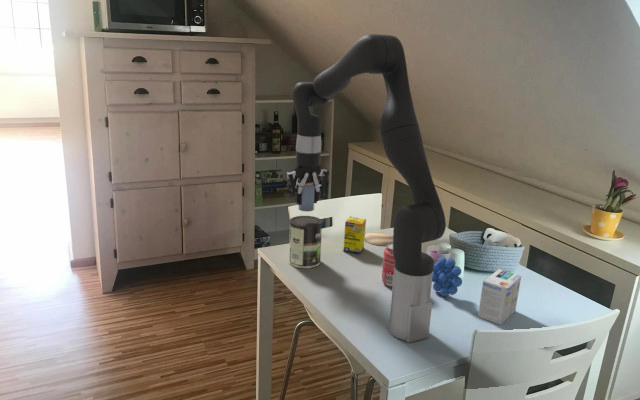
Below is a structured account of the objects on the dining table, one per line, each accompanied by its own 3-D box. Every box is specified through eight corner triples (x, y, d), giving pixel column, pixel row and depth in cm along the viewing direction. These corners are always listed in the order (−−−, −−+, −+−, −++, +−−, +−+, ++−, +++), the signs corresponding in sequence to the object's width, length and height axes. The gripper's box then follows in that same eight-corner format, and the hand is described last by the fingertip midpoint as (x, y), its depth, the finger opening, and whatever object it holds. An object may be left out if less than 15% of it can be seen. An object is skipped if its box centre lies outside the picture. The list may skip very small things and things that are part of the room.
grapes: (469, 301, 150) (474, 262, 146) (452, 306, 147) (457, 266, 143) (440, 284, 159) (444, 247, 156) (423, 289, 156) (427, 251, 152)
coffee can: (322, 257, 175) (324, 216, 171) (317, 270, 166) (319, 227, 162) (292, 254, 177) (293, 214, 173) (285, 266, 167) (286, 224, 163)
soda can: (404, 279, 162) (408, 242, 158) (405, 289, 155) (409, 251, 152) (381, 277, 162) (384, 240, 159) (381, 287, 156) (384, 249, 152)
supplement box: (343, 251, 181) (344, 221, 177) (347, 245, 186) (349, 216, 183) (360, 254, 179) (362, 223, 176) (364, 248, 185) (366, 218, 181)
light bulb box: (492, 302, 150) (498, 267, 147) (516, 311, 146) (522, 275, 143) (476, 316, 142) (482, 280, 139) (501, 326, 138) (507, 288, 135)
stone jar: (316, 210, 165) (317, 183, 162) (302, 212, 163) (303, 185, 160) (309, 205, 169) (310, 179, 167) (296, 207, 167) (296, 181, 164)
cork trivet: (403, 243, 191) (403, 241, 190) (375, 247, 185) (375, 246, 185) (385, 231, 201) (385, 230, 201) (357, 235, 195) (357, 234, 195)
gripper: (291, 153, 154) (290, 209, 159) (335, 150, 160) (332, 204, 165) (281, 148, 160) (280, 202, 165) (324, 145, 167) (321, 197, 172)
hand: (306, 203), depth 165 cm, fingers closed on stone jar, 4 cm apart
